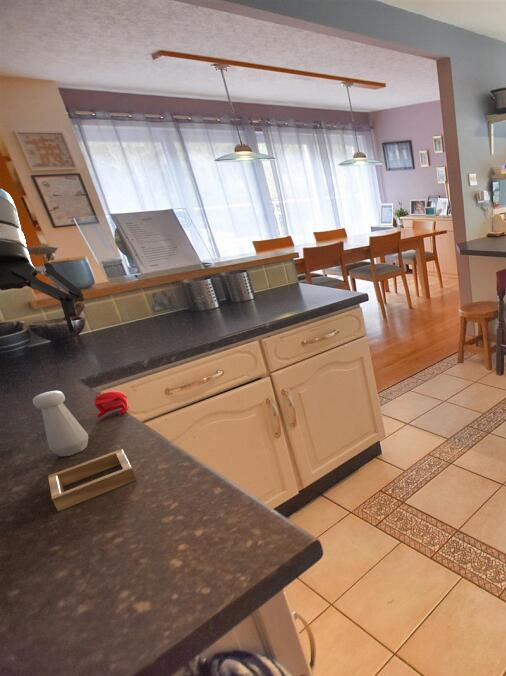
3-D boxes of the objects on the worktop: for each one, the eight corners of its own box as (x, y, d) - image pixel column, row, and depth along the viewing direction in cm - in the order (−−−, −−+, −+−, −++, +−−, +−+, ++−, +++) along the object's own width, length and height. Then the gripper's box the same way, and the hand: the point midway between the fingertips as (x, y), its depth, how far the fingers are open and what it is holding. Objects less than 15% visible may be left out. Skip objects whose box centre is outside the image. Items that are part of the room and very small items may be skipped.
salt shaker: (61, 448, 90) (33, 391, 86) (96, 439, 93) (71, 384, 88) (48, 462, 85) (18, 403, 81) (86, 453, 88) (59, 395, 83)
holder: (53, 487, 77) (47, 475, 76) (126, 459, 84) (122, 448, 83) (58, 511, 71) (51, 499, 70) (136, 479, 78) (131, 467, 77)
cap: (100, 412, 105) (91, 390, 103) (132, 404, 109) (123, 382, 107) (96, 424, 99) (86, 401, 97) (130, 415, 102) (120, 392, 100)
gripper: (-106, 243, 81) (-86, 339, 76) (79, 235, 98) (104, 314, 93) (-88, 267, 86) (-68, 359, 81) (84, 256, 103) (109, 332, 98)
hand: (24, 335), depth 87 cm, fingers open, 13 cm apart
